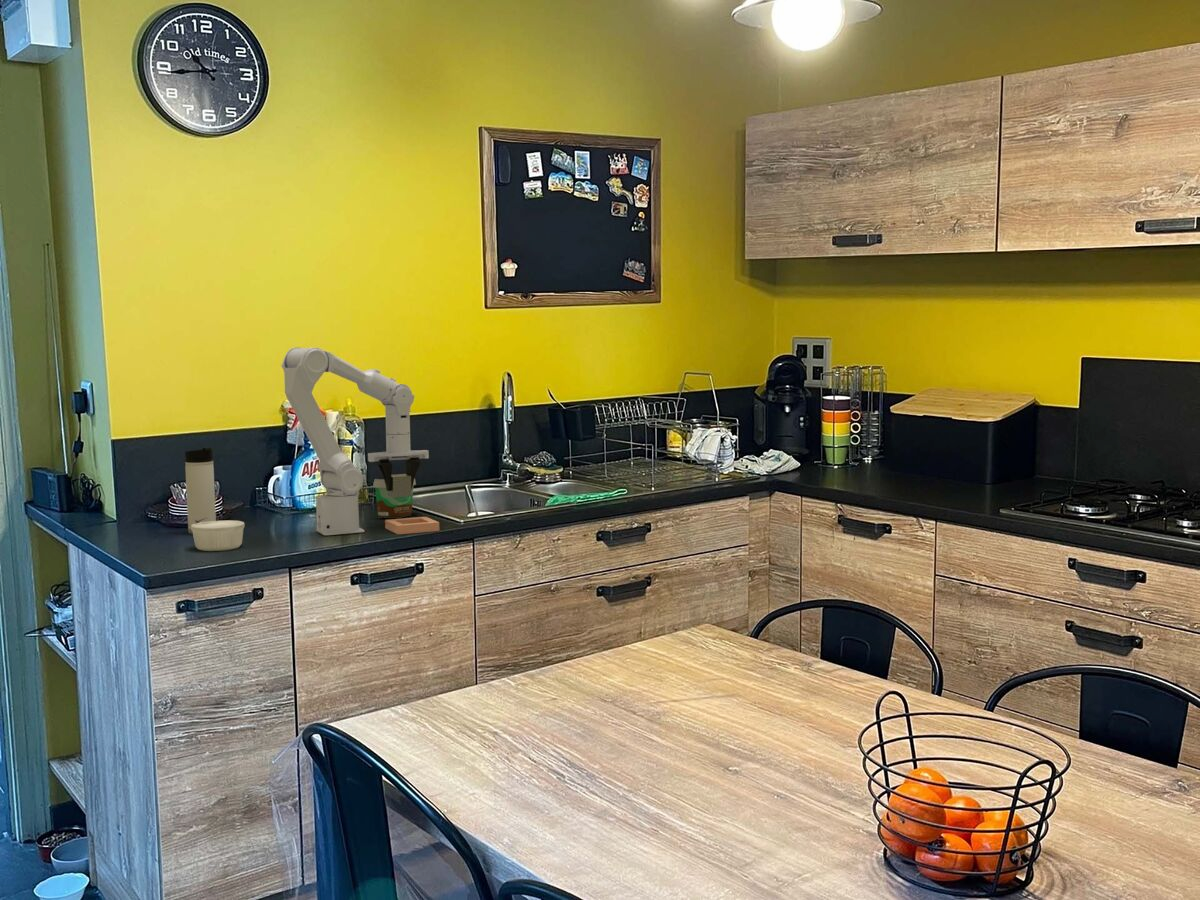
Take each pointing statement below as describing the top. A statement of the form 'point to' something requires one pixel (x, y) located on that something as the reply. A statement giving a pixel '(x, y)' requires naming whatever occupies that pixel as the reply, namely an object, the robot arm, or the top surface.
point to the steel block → (400, 486)
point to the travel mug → (200, 486)
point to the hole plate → (412, 525)
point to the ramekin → (218, 535)
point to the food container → (391, 501)
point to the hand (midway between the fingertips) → (399, 489)
